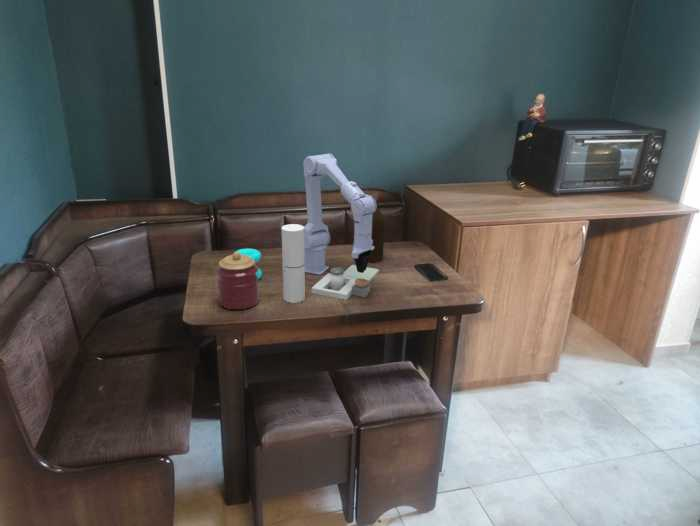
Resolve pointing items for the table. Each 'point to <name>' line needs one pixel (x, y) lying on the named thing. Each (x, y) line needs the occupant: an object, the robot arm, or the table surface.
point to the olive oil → (377, 235)
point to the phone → (430, 272)
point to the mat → (367, 274)
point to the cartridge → (337, 278)
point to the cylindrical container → (293, 263)
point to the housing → (344, 292)
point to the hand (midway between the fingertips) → (361, 271)
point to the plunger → (361, 283)
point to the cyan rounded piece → (253, 254)
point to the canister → (238, 281)
